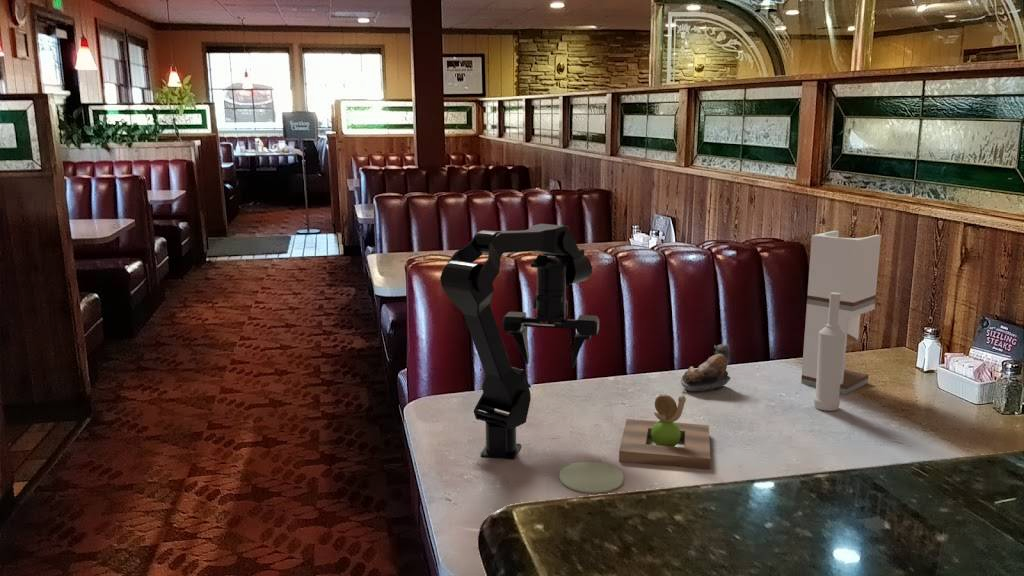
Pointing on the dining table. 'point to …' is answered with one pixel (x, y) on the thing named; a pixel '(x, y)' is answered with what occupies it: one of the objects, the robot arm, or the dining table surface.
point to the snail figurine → (667, 420)
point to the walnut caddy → (687, 456)
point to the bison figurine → (708, 372)
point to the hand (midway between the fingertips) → (550, 365)
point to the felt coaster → (591, 477)
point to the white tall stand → (855, 278)
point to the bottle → (830, 359)
